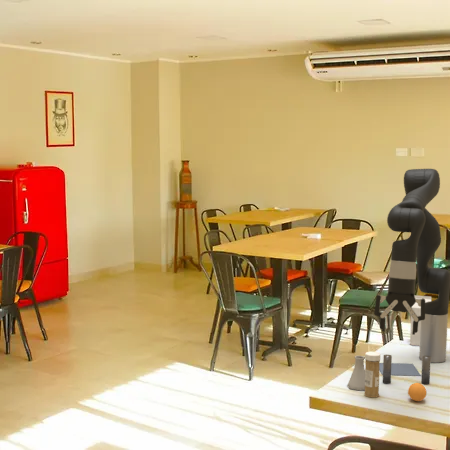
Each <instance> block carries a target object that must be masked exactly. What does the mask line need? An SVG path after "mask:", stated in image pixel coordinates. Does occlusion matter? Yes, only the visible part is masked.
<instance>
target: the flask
mask: <svg viewBox="0 0 450 450" xmlns="http://www.w3.org/2000/svg"><path fill="white" fill-rule="evenodd" d="M354 359H355V361H354V362H355V363H354V367H353V370H352V373H351V375H350V377H349V380H348V383H347V384H346V385H347V387H348V389H350V390H354V391H365V363H364V361H365V355H355V356H354Z"/></svg>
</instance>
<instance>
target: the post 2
mask: <svg viewBox="0 0 450 450" xmlns="http://www.w3.org/2000/svg"><path fill="white" fill-rule="evenodd" d="M421 361H422V362H421V383H420V384H422V385H423V386H428V385H430V382H431V363H432V362H431V357H430V356H427V355H424V356H422V360H421Z"/></svg>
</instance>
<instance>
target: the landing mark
mask: <svg viewBox="0 0 450 450" xmlns="http://www.w3.org/2000/svg"><path fill="white" fill-rule="evenodd" d="M379 373H380V374H381V376H383V362H379ZM391 376H397V377H398V376H400V377H404V376H408V377H422V374H421V373H420V372H419V371H418V369H417V368H416V366H415V365H414V364H413V363H407V362H405V363H404V362H403V363H401V362H398V363H397V362H392V363H391Z"/></svg>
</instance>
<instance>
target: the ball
mask: <svg viewBox="0 0 450 450" xmlns="http://www.w3.org/2000/svg"><path fill="white" fill-rule="evenodd" d="M407 394H408V396H409V398H410V399H411V400H413V401H414V402H415V401H416V402H420V401H423V400H425V398H426V397H427V388H426V387H425V385H424V384H421V383H420V382H415V383H412V384H411V385H410V386H409V387H408V390H407Z"/></svg>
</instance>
